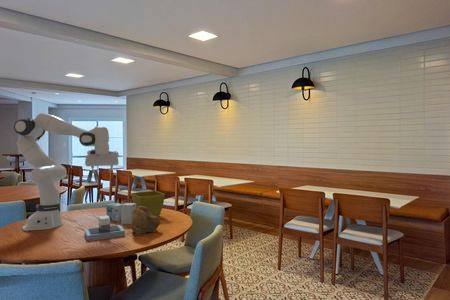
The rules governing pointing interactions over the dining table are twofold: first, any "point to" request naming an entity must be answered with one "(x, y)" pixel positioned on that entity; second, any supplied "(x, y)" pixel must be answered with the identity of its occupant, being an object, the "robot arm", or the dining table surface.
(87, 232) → the grey shallow rectangular tray
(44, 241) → the dining table surface
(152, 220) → the rough brown rock
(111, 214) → the light bulb box
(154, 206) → the flower pot
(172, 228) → the dining table surface
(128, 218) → the supplement box
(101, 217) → the block
